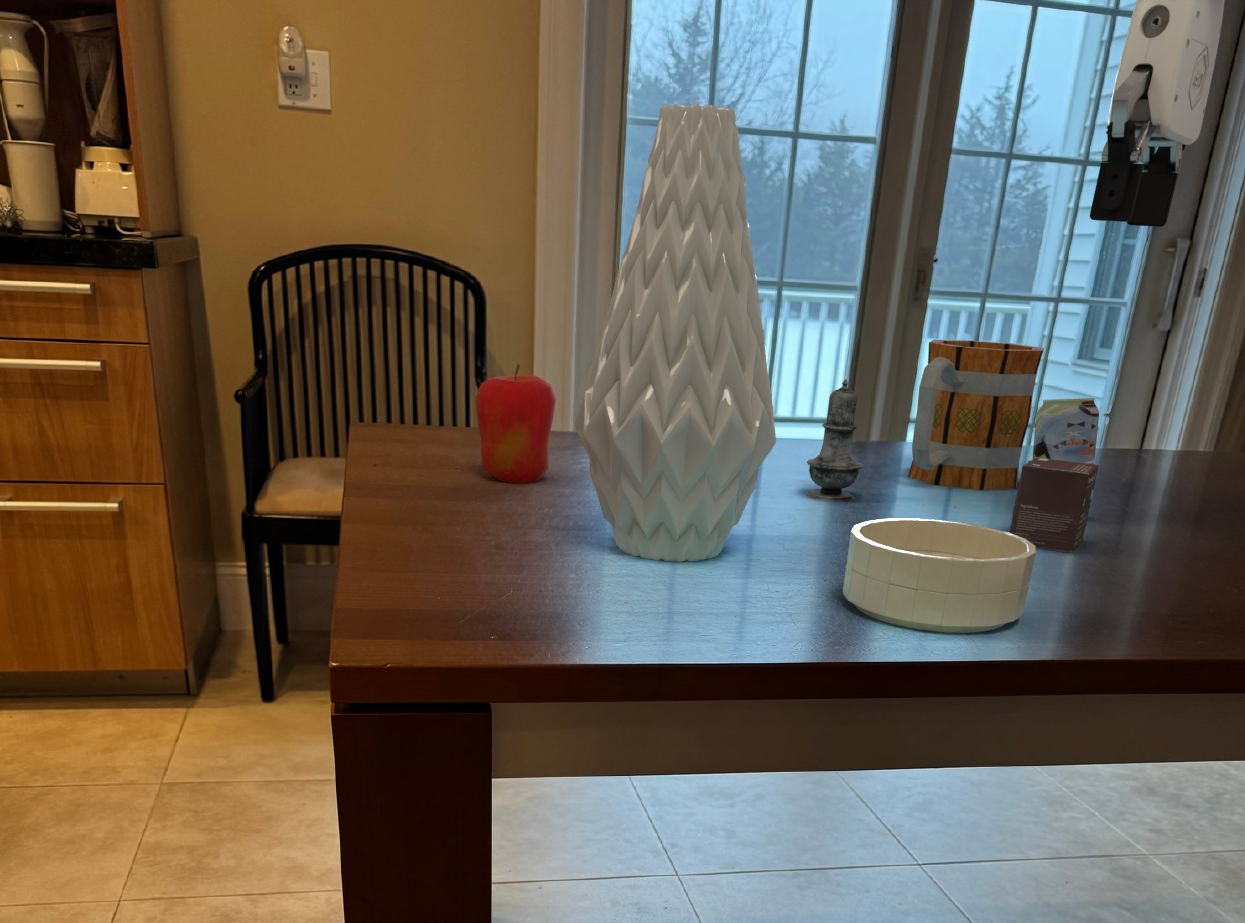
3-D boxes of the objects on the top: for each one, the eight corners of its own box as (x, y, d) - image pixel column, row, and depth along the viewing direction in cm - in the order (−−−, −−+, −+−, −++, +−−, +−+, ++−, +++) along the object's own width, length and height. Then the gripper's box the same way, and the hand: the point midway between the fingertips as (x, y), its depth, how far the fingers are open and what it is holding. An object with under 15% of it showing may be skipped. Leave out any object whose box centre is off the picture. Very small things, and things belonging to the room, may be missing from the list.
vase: (580, 523, 110) (593, 112, 95) (757, 534, 109) (799, 122, 94) (561, 567, 95) (574, 88, 80) (767, 580, 94) (819, 100, 79)
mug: (939, 465, 149) (960, 338, 142) (1040, 483, 141) (1068, 348, 134) (857, 482, 136) (876, 342, 129) (963, 502, 128) (990, 354, 121)
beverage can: (1068, 527, 119) (1096, 402, 113) (1004, 513, 124) (1028, 392, 118) (1098, 520, 123) (1126, 399, 117) (1035, 507, 127) (1059, 390, 122)
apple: (516, 469, 132) (517, 357, 127) (570, 481, 128) (574, 365, 122) (459, 477, 126) (458, 360, 121) (514, 490, 122) (515, 368, 116)
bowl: (1019, 600, 93) (1034, 530, 90) (1020, 647, 81) (1037, 569, 79) (852, 579, 96) (862, 511, 93) (831, 622, 85) (841, 546, 82)
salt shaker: (842, 505, 123) (858, 383, 118) (793, 496, 126) (806, 377, 121) (867, 498, 127) (884, 380, 122) (819, 489, 131) (833, 374, 125)
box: (1071, 555, 108) (1090, 473, 104) (1005, 545, 110) (1021, 464, 107) (1082, 543, 113) (1100, 464, 109) (1019, 533, 115) (1034, 456, 112)
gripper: (1209, -59, 81) (1143, 221, 89) (1264, -12, 93) (1202, 229, 101) (1101, -51, 85) (1047, 216, 93) (1167, -7, 97) (1114, 225, 105)
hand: (1128, 223), depth 97 cm, fingers open, 9 cm apart
